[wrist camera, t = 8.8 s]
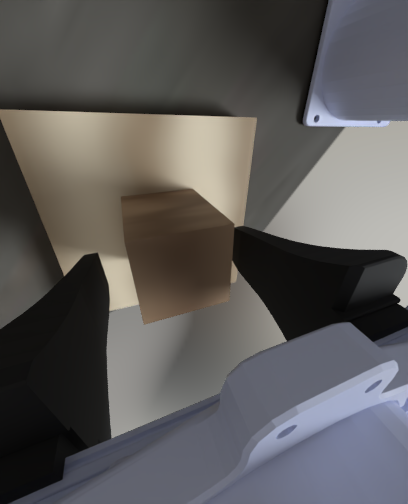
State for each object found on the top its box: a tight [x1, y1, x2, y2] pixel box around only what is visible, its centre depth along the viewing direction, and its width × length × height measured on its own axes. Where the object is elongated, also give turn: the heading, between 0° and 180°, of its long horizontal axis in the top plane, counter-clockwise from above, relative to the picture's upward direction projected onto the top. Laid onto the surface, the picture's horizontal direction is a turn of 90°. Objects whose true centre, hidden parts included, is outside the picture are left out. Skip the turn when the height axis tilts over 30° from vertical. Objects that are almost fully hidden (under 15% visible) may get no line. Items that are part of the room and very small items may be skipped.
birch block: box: [0, 109, 257, 311], centre depth 16 cm, size 13×13×3 cm
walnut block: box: [121, 189, 235, 324], centre depth 12 cm, size 4×4×6 cm
